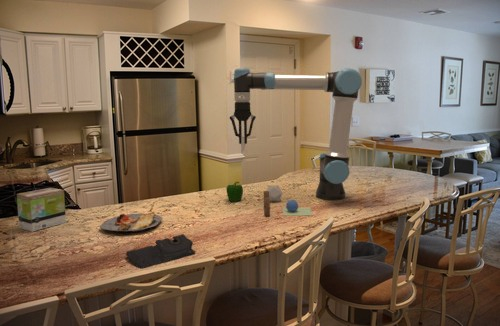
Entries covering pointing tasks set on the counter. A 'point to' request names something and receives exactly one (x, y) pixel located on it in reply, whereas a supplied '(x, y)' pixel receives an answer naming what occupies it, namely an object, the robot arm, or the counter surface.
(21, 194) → the tea box
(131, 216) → the food plate
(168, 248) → the stepped dark grey slab
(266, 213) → the gate post
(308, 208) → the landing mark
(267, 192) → the gate post
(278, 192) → the die
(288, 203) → the ball
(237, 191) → the bell pepper
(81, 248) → the counter surface
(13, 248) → the counter surface
